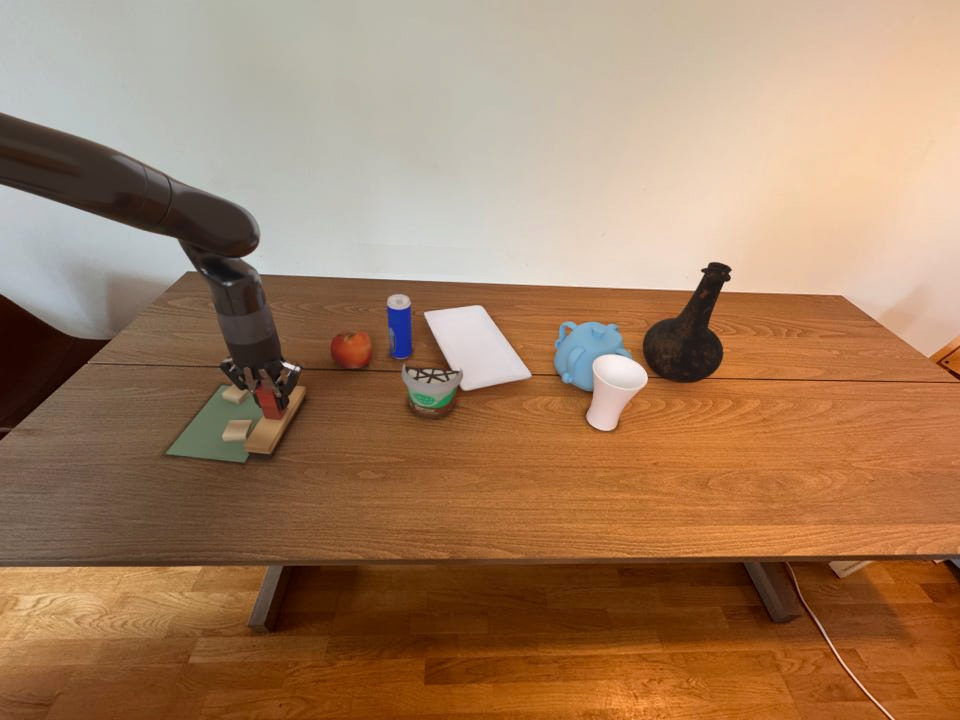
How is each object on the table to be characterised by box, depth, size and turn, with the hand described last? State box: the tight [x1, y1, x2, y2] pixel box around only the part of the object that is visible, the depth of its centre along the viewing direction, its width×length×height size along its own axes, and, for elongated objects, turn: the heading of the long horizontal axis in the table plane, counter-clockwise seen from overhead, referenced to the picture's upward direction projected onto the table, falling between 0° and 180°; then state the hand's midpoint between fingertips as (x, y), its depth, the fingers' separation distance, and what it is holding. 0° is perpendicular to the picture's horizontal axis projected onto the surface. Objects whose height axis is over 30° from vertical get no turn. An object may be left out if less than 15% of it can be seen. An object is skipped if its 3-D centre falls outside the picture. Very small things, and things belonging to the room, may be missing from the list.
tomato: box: [330, 330, 373, 370], centre depth 94 cm, size 9×9×8 cm
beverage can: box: [386, 293, 413, 360], centre depth 96 cm, size 5×5×15 cm
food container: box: [401, 362, 463, 419], centre depth 84 cm, size 12×6×10 cm, turn 88°
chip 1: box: [222, 383, 252, 405], centre depth 85 cm, size 4×4×2 cm
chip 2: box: [222, 420, 254, 442], centre depth 78 cm, size 4×4×2 cm
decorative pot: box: [553, 321, 634, 392], centre depth 96 cm, size 16×16×14 cm
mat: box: [165, 384, 264, 464], centre depth 81 cm, size 18×14×1 cm
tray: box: [423, 305, 533, 392], centre depth 102 cm, size 17×31×4 cm, turn 22°
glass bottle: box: [642, 261, 733, 384], centre depth 96 cm, size 18×18×28 cm
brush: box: [243, 380, 307, 460], centre depth 77 cm, size 16×4×10 cm, turn 176°
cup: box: [586, 354, 649, 432], centre depth 85 cm, size 10×10×14 cm
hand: (273, 405), depth 77 cm, fingers closed on brush, 3 cm apart
